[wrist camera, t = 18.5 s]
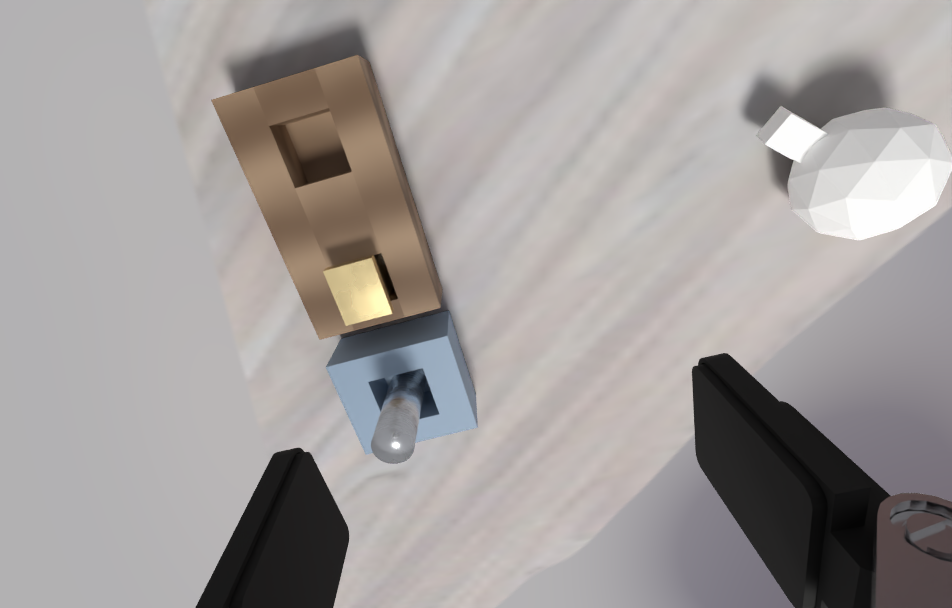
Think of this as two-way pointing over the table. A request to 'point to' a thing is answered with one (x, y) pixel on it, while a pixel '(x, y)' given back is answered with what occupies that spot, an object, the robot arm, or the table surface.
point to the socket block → (331, 185)
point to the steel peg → (399, 417)
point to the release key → (361, 288)
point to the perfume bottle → (861, 169)
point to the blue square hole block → (398, 351)
